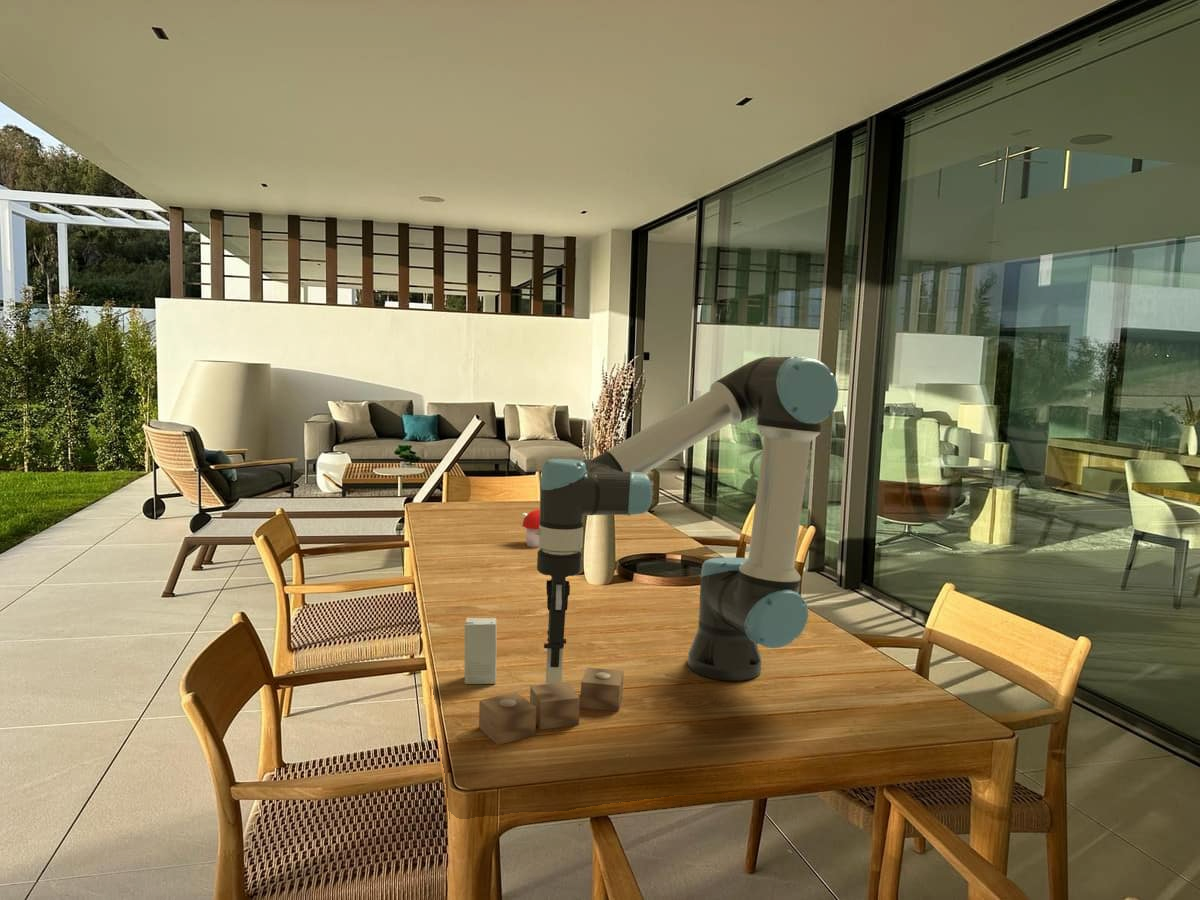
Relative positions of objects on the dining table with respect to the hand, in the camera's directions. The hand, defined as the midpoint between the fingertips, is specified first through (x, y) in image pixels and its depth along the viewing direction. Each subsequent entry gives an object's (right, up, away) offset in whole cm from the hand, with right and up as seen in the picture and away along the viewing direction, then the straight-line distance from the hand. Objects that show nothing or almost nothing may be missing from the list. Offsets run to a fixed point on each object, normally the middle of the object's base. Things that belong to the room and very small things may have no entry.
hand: (553, 682), depth 139 cm
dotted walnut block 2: (+8, -6, +8) cm, 14 cm away
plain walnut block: (0, -7, +1) cm, 7 cm away
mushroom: (-13, +8, +129) cm, 130 cm away
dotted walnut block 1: (-8, -7, -5) cm, 11 cm away
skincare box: (-15, -5, +16) cm, 22 cm away
